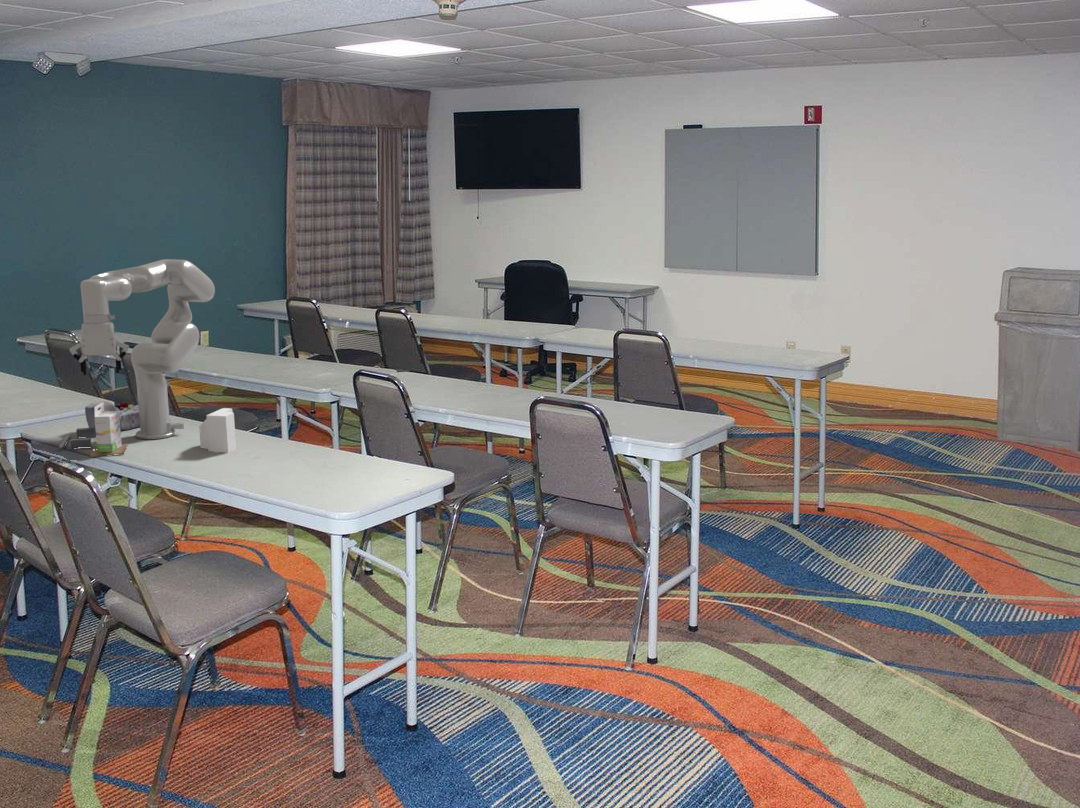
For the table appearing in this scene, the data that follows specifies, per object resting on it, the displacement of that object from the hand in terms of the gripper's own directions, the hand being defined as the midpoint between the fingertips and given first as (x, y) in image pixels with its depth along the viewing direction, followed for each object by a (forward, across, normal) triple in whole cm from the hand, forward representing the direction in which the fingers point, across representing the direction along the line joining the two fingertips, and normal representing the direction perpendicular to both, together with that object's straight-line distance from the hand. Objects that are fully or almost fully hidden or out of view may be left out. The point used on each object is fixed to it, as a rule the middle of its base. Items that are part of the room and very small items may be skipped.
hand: (101, 373), depth 331 cm
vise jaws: (+25, +11, -14) cm, 31 cm away
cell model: (+26, 0, -32) cm, 41 cm away
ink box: (+25, 0, 0) cm, 25 cm away
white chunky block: (+26, -34, +6) cm, 43 cm away
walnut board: (+25, 0, 0) cm, 25 cm away
